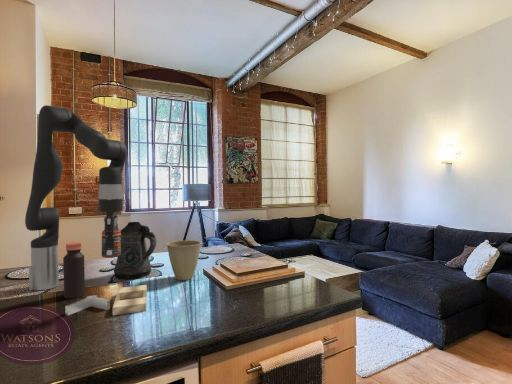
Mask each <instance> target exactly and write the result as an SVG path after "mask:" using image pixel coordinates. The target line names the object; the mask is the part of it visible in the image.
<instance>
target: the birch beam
mask: <svg viewBox="0 0 512 384" xmlns="http://www.w3.org/2000/svg"><path fill="white" fill-rule="evenodd" d="M147 285H148V284H142V285H133V286H125V287H118V289H117V294H116V296H115V300H114V302H113V306H112V316H117V315H126V314H133V313H140V312H146V311H147V297H148V296H147V295H148V294H147V293H148V287H147Z"/></svg>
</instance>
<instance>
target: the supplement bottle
mask: <svg viewBox="0 0 512 384" xmlns="http://www.w3.org/2000/svg"><path fill="white" fill-rule="evenodd" d="M118 225H119V224H118V222H117V223H116V230H115V231H114V234H115V235H114V247H113V248H107V247H106V236H105V229H104V228H103V229H104V230H102V231H101V257H102V258H105V259H106V258H107V259H110V258H111V259H113V258H118V256H120V255H121V231H120V229H119V226H118ZM108 232H112V230H111V231H108Z"/></svg>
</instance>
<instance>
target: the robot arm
mask: <svg viewBox="0 0 512 384" xmlns="http://www.w3.org/2000/svg"><path fill="white" fill-rule="evenodd" d="M37 118H38V119H37V120H38V121H37V122H38V123H37V141H36V143H37V145H36V152H35V159H34V165H33V171H32V180H31V188H30V189H31V190H30V195H29V199H28V204H27V208H26V211H25V212H26V213H25V219H24V225H25V228H26V229H27V230H28V231H30V232H31V231H32V232H36V231H44V230H45V232H44V233H43V234H42V235H40V236H38V237H36V238H34V239H32V240H31V241H30V266H29V267H28V273H29V274H28V278H29V283H28V287H29V291H45V290H50V289H53V288H57V287H58V286H59V283H60V278H59V238H60V236H59V235H60V234H59V233H60V213H59V210H58V209H57V208H56V207H51V206H50V207H49V206H48V207H42V205H43V202H44V201H45V200H46V197H48V195H49V194H51V192H53V190H55V188H56V187H57V186H58V185H59V184H60V182H61V181H62V180H61V179H62V174H63V167H64V165H63V162H62V159H61V157H60V155H59V153H58V151H57V150H56V149H55V146H54V141H53V135H54V132H57V133H58V132H59V133H71V134H74V138H75V139H76V141H77V142H78V143H80V144H81V145H82V146H84V147H85V148H87V149H88V150H89V151H90V153H91V154H92V155H93V156H94V157H95V158H98V159H100V160H105V161H106V160H107V161H110V163H109V165H108V166H104V167H101V168H99V173H98V177H99V178H98V181H99V183H98V193H97V194H98V197H97V198H98V212H100V213H106V214H105V215H106V216H105V217H103V222H104V228H103V229H105V236H106V247H107V248H113V247H114V235H115V234H114V231H115V230H116V223H117V224H118V219H119V217H118V215H117V214H116V213H117V212H122V211H124V197H123V196H124V195H123V194H124V190H123V171H124V168H125V163H126V159H127V156H128V152H127V151H128V149H127V146H126V145H125V143H124V142H122V141H120V140H115V139H108V138H107V137H106V136H105V134H103V133H102V132H100V131H99V130H97V129H95V128H93V127H91V126H89V125H88V124H87V123H86V122H85V121H83V120H82V119H81V118H80V117H79V116H78V115H77V114H76V113H75V112H73V111H72V110H71V109H68V108H66V107H64V108H63V107H59V106H58V107H57V106H55V105H46V104H45V105H43V106H42V107H41V108H40V110H39V112H38V117H37ZM111 230H112V232H108V231H111Z"/></svg>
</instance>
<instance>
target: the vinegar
mask: <svg viewBox="0 0 512 384" xmlns="http://www.w3.org/2000/svg"><path fill="white" fill-rule="evenodd" d="M65 250H66V254H65V255H64V257H63V260H62V261H63V265H62V266H63V267H62V268H63V297H64V298H65V299H67V300H68V299H77V298H80V297H83V296H84V295H85V294H86V289H85V287H86V283H85V279H86V278H85V277H86V276H85V255H84V254H83V253H82V242H70V243H69V242H68V243H66V244H65Z"/></svg>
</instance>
